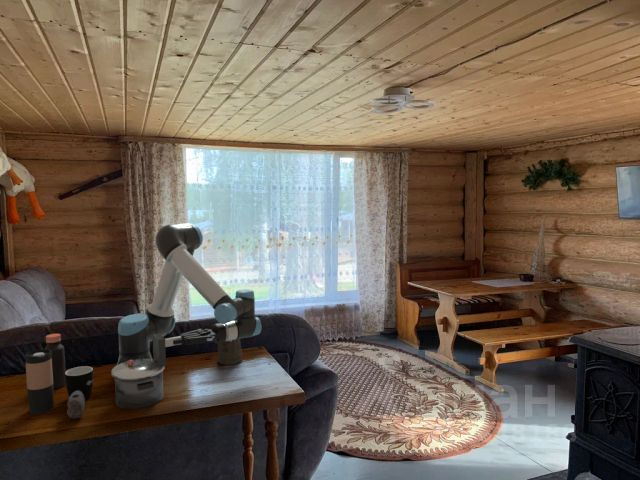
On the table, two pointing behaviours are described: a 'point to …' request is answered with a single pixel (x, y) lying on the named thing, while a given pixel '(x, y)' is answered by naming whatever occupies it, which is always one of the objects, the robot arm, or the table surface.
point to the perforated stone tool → (76, 405)
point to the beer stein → (229, 351)
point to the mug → (79, 380)
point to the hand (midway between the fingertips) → (163, 343)
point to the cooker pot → (139, 392)
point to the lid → (143, 363)
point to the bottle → (57, 359)
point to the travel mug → (39, 381)
